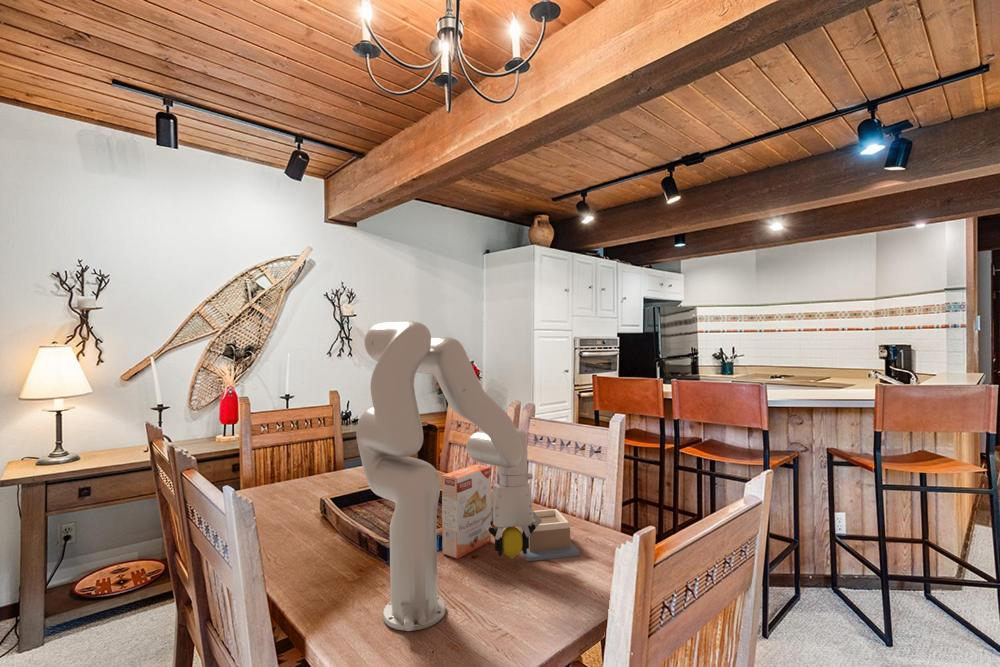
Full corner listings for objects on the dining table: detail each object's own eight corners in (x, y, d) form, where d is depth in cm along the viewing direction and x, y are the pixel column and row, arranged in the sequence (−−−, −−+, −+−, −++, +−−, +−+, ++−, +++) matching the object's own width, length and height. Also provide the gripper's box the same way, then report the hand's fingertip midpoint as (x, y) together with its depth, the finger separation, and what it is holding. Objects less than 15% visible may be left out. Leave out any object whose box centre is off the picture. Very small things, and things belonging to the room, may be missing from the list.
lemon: (521, 564, 119) (521, 530, 119) (498, 562, 120) (498, 528, 121) (524, 554, 125) (524, 522, 125) (503, 552, 126) (503, 521, 126)
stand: (580, 555, 127) (579, 526, 127) (527, 561, 124) (526, 531, 124) (559, 530, 144) (558, 504, 144) (512, 535, 141) (511, 508, 141)
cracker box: (458, 560, 125) (457, 478, 126) (441, 554, 129) (440, 474, 129) (492, 541, 137) (491, 466, 137) (476, 536, 140) (474, 463, 140)
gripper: (540, 473, 128) (540, 544, 128) (475, 477, 125) (475, 549, 124) (549, 481, 121) (549, 556, 121) (480, 485, 118) (480, 562, 117)
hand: (511, 552), depth 123 cm, fingers closed on lemon, 5 cm apart
